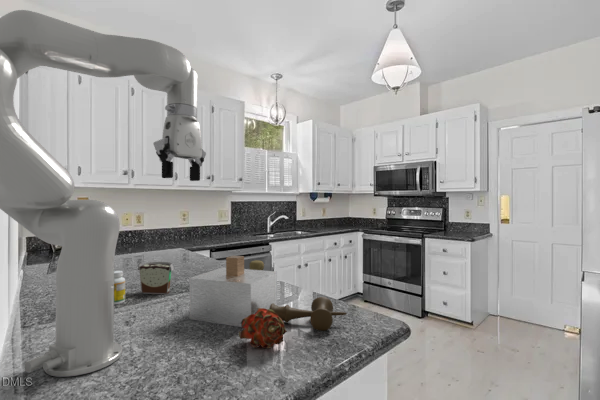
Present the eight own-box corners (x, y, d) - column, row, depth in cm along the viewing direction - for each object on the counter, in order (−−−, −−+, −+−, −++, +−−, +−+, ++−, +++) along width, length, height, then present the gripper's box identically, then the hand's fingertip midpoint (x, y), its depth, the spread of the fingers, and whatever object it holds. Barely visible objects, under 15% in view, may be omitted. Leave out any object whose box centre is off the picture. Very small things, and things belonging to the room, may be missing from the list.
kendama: (273, 318, 89) (346, 318, 87) (266, 332, 79) (348, 333, 77) (272, 296, 89) (345, 296, 87) (265, 308, 79) (347, 308, 77)
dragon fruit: (283, 362, 66) (243, 355, 73) (300, 327, 72) (262, 323, 79) (263, 336, 62) (223, 330, 70) (282, 301, 68) (244, 299, 76)
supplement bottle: (128, 301, 102) (129, 271, 102) (111, 306, 97) (112, 274, 97) (118, 299, 105) (118, 269, 105) (101, 303, 100) (102, 272, 100)
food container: (179, 289, 116) (180, 261, 117) (171, 294, 110) (171, 265, 110) (147, 288, 118) (147, 261, 118) (137, 293, 112) (137, 264, 112)
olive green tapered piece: (244, 293, 111) (245, 261, 111) (252, 289, 117) (252, 258, 117) (261, 295, 109) (261, 262, 109) (268, 290, 115) (268, 259, 115)
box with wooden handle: (250, 328, 80) (250, 263, 80) (189, 319, 86) (189, 259, 86) (276, 309, 94) (276, 254, 95) (222, 302, 101) (222, 251, 101)
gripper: (167, 103, 76) (166, 176, 76) (214, 121, 92) (214, 181, 91) (144, 107, 79) (143, 177, 79) (194, 124, 95) (194, 182, 94)
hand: (181, 179), depth 85 cm, fingers open, 9 cm apart
